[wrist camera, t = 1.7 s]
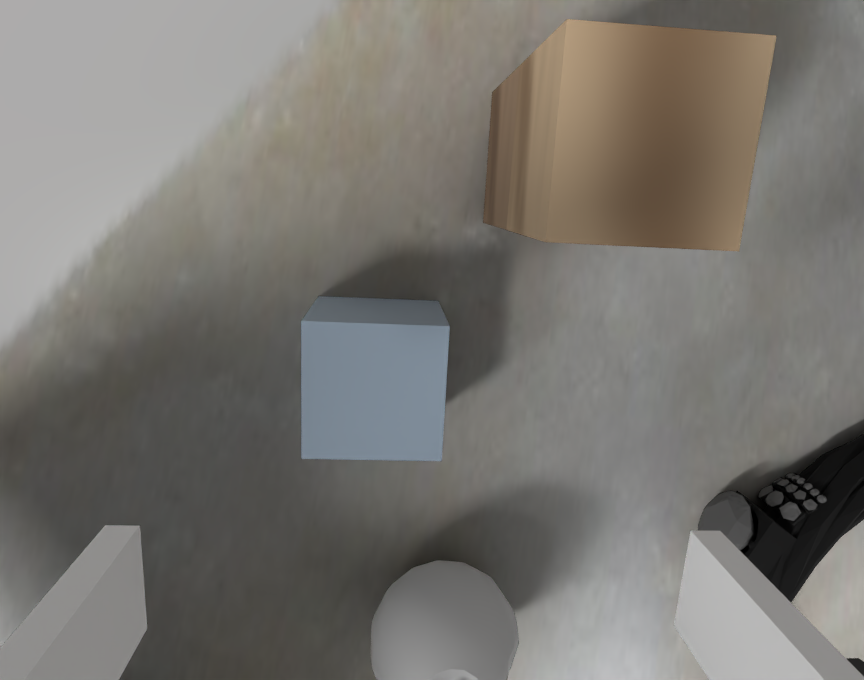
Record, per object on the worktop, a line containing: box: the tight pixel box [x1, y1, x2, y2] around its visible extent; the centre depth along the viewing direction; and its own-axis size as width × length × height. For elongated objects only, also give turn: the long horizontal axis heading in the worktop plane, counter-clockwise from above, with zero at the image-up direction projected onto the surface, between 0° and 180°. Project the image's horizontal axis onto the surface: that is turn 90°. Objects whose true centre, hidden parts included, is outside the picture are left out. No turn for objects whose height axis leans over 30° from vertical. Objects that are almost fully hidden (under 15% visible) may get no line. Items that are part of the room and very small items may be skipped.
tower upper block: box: [506, 19, 776, 251], centre depth 20 cm, size 6×6×6 cm
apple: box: [371, 560, 519, 680], centre depth 30 cm, size 8×8×8 cm
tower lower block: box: [483, 66, 520, 230], centre depth 26 cm, size 6×6×6 cm
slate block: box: [301, 296, 450, 461], centre depth 27 cm, size 6×6×6 cm
